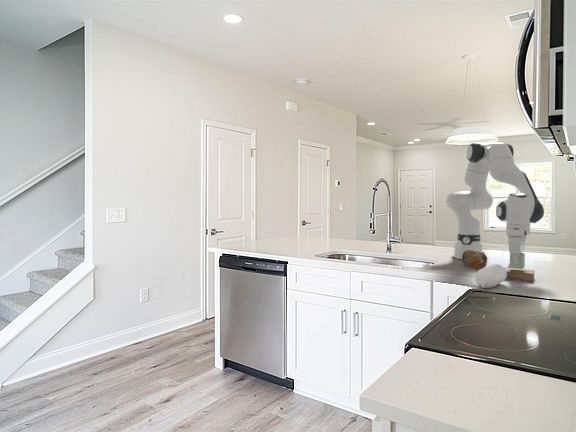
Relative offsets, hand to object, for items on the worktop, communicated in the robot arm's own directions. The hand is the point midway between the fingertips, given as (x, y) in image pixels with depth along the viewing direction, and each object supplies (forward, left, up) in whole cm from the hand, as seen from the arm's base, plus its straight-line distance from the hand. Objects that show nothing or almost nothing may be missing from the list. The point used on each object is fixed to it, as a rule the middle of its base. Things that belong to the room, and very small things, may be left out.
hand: (517, 262), depth 164 cm
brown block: (0, 0, -8) cm, 8 cm away
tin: (-19, -21, -7) cm, 29 cm away
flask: (-18, -3, -7) cm, 20 cm away
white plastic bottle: (+24, -6, -7) cm, 25 cm away
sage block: (0, 0, -2) cm, 2 cm away
